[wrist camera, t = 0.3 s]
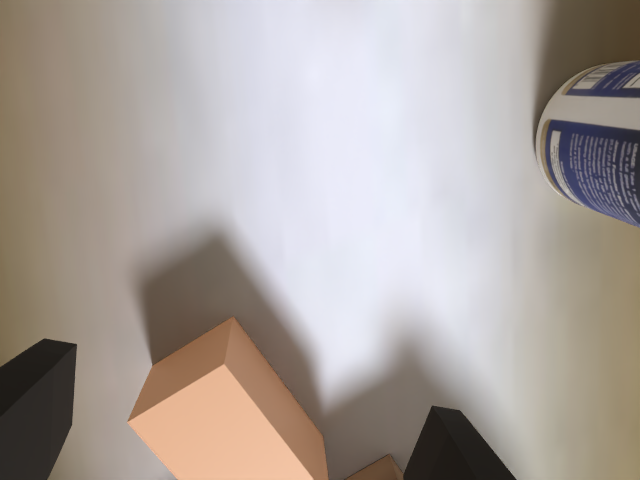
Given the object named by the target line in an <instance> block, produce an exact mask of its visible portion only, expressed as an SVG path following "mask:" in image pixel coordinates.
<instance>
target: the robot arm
mask: <svg viewBox="0 0 640 480" xmlns="http://www.w3.org/2000/svg"><path fill="white" fill-rule="evenodd" d="M76 350H77V344H73V343H67V342H61V341H55V340H50V339H43V340H41V341H39V342H38V343H36V344H35V345H33V346H32V347H30V348H28V349H27V350H25V351H24V352H22V353H21V354H19V355H18V356H16V357H15V358H13V359H12V360H10V361H9V362H7V363H6V364H4V365H3V366H1V367H0V480H47V479H48V477H49V475H50V473H51V471H52V469H53V466H54V464H55V462H56V460H57V458H58V455H59V453H60V451H61V449H62V446H63V444H64V442H65V439H66V437H67V435H68V433H69V430H70V428H71V426H72V416H73V399H74V383H75V366H76ZM403 480H516V478H515V477H514V476H513V475H512V473H511V472H510V471H509V470H508V469H507V467H506V466H505V465H504V464H503V462H502V461H501V460H500V459H499V457H498V456H497V455H496V454H495V453H494V451H493V450H492V449H491V448H490V446H489V445H488V444H487V443H486V441H485V440H484V439H483V438H482V436H481V435H480V434H479V433H478V431H477V430H476V429H475V428H474V427H473V425H472V424H471V423H470V422H469V420H468V419H467V418H466V417H465V416H464V415H463V414H462V412H461V411H460V410H454V409H448V408H443V407H437V406H432V407H431V410H430V412H429V415H428V417H427V419H426V422H425V424H424V427H423V429H422V431H421V434H420V436H419V439H418V441H417V444H416V446H415V448H414V451H413V453H412V456H411V458H410V460H409V463H408V465H407V468H406V470H405V473H404V475H403Z"/></svg>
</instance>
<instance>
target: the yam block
mask: <svg viewBox="0 0 640 480" xmlns="http://www.w3.org/2000/svg"><path fill="white" fill-rule="evenodd" d="M127 423H128V424H129V425H130V426H131V427H132V428H133V430H134V431H135V432H136V433H137V434H138V435H139V436H140V438H141V439H142V440H143V441H144V442H145V443H146V444H147V445H148V447H149V448H150V449H151V450H152V451H153V452H154V453H155V455H156V456H157V457H158V458H159V459H160V460H161V461H162V462H163V464H164V465H165V466H166V467H167V468H168V469H169V470H170V472H171V473H172V474H173V475H174V476H175V477H176V478H177V479H178V480H329V478H328V470H327V462H326V455H325V447H324V439H323V436H322V434H321V433H320V432H319V430H318V429H317V428H316V426H315V425H314V424H313V422H312V421H311V419H310V418H309V417H308V415H307V414H306V413H305V411H304V410H303V409H302V407H301V406H300V405H299V403H298V402H297V401H296V399H295V398H294V397H293V395H292V394H291V393H290V391H289V390H288V389H287V387H286V386H285V385H284V383H283V382H282V381H281V379H280V378H279V377H278V375H277V374H276V373H275V371H274V370H273V369H272V367H271V366H270V364H269V363H268V362H267V360H266V359H265V358H264V356H263V355H262V354H261V352H260V351H259V350H258V348H257V347H256V346H255V344H254V343H253V342H252V340H251V339H250V338H249V336H248V335H247V334H246V332H245V331H244V330H243V328H242V327H241V326H240V324H239V323H238V322H237V320H236V319H235V318H234V316H233V317H231V318H229V319H228V320H226V321H225V322H223V323H221V324H220V325H218V326H216V327H215V328H213V329H212V330H210V331H208V332H207V333H205V334H203V335H202V336H200V337H198V338H197V339H195V340H194V341H192V342H190V343H189V344H187V345H185V346H184V347H182V348H180V349H179V350H177V351H176V352H174V353H172V354H171V355H169V356H167V357H166V358H164V359H162V360H161V361H159V362H158V363H156V364H154V365H153V366H152V368H151V370H150V372H149V375H148V377H147V379H146V381H145V383H144V386H143V388H142V390H141V392H140V395H139V397H138V399H137V401H136V404H135V406H134V408H133V410H132V413H131V415H130V417H129V419H128V421H127Z"/></svg>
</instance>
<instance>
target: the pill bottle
mask: <svg viewBox="0 0 640 480" xmlns="http://www.w3.org/2000/svg"><path fill="white" fill-rule="evenodd" d="M536 157H537V162H538V165H539V168H540V170H541V173H542V175H543V177H544V178H545V180H546V182H547V183H548V184H549V185H550V186H551V188H552V189H554V190H555V191H556V192H557V193H558V194H559V195H561V196H562V197H564V198H566V199H568V200H570V201H572V202H574V203H576V204H578V205H581V206H584V207H587V208H589V209H592V210H594V211H597V212H600V213H603V214H605V215H608V216H611V217H613V218H616V219H619V220H621V221H624V222H626V223H629V224H632V225H634V226H637V227H639V228H640V60H638V61H626V62H615V63H608V64H602V65H598V66H594V67H591V68H588V69H586V70H584V71H582V72H580V73H578V74H577V75H575V76H573V77H572V78H570V79H569V80H568V81H567V82H566V83H564V84H563V85H562V86H561V87H560V88H559V89H558V90H557V92H556V93H555V94H554V95H553V97H552V98H551V99H550V101H549V102H548V104H547V106H546V107H545V109H544V111H543V114H542V116H541V119H540V122H539V125H538V130H537V135H536Z"/></svg>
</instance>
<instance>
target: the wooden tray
mask: <svg viewBox="0 0 640 480" xmlns="http://www.w3.org/2000/svg"><path fill="white" fill-rule="evenodd" d="M403 475H404V474H403V473H402V471H401V470H400V468H399V467H398V465H397V464H396V463H395V461H394V460H393V458H392V457H391V455H390V454H389V455H387V456H385V457H383V458H382V459H380V460H378V461H376V462H375V463H373V464H371V465H369V466H368V467H366V468H364V469H362V470H361V471H359V472H357V473H355V474H354V475H352V476H350V477H348V478H347V479H345V480H403Z"/></svg>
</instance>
